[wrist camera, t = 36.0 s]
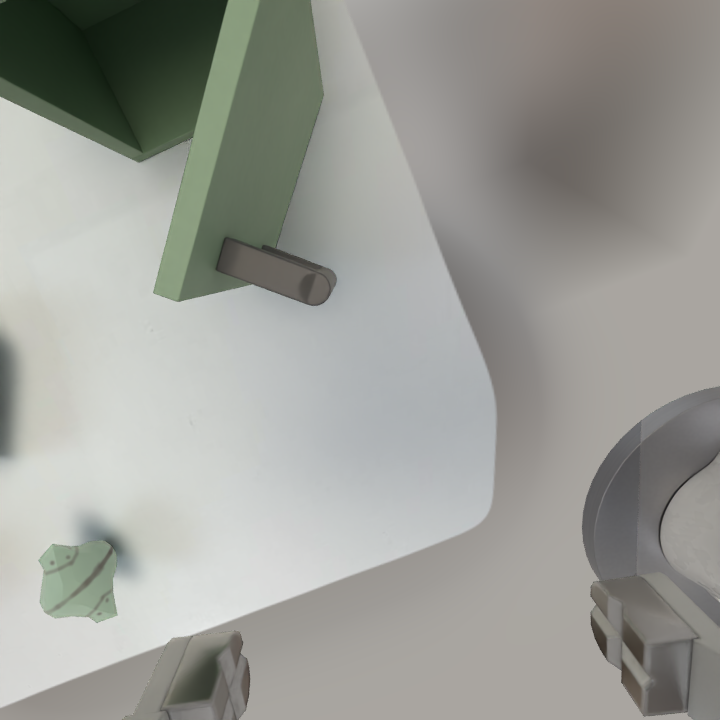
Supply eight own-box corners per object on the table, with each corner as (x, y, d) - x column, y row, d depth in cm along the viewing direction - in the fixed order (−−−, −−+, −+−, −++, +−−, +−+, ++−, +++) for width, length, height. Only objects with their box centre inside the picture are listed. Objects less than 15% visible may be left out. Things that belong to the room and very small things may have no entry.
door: (393, 124, 29) (449, -47, 13) (328, 305, 32) (309, 348, 16) (310, 88, 29) (262, -138, 12) (252, 277, 32) (152, 293, 15)
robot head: (151, 569, 38) (110, 634, 31) (115, 588, 38) (67, 656, 32) (95, 504, 36) (39, 559, 29) (59, 525, 36) (-4, 583, 30)
